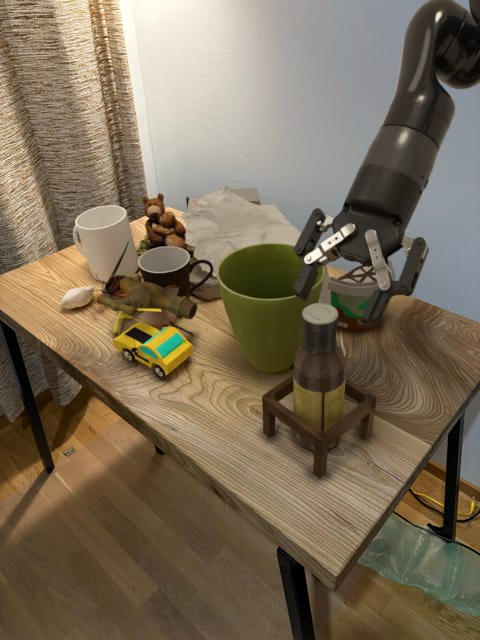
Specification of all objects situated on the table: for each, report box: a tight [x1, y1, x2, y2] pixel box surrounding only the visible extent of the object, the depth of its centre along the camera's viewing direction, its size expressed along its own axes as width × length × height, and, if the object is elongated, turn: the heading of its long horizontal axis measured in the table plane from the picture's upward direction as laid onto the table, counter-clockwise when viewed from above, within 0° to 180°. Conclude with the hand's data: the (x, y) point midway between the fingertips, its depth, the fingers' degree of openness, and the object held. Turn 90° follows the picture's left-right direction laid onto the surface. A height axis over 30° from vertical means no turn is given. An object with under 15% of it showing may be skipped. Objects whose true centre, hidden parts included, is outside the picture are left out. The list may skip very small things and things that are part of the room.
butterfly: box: [90, 241, 129, 313], centre depth 94 cm, size 12×10×10 cm
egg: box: [141, 309, 177, 331], centre depth 88 cm, size 5×5×7 cm
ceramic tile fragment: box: [190, 264, 222, 301], centre depth 99 cm, size 12×3×10 cm
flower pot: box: [216, 243, 325, 374], centre depth 78 cm, size 15×15×16 cm
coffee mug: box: [138, 246, 213, 319], centre depth 91 cm, size 12×9×10 cm
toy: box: [230, 187, 261, 205], centre depth 110 cm, size 10×8×15 cm
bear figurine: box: [136, 192, 198, 264], centre depth 105 cm, size 14×15×12 cm
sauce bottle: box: [292, 303, 347, 451], centre depth 64 cm, size 6×6×20 cm
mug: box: [72, 204, 139, 283], centre depth 102 cm, size 10×12×12 cm
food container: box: [327, 257, 396, 333], centre depth 86 cm, size 12×6×10 cm, turn 126°
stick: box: [169, 321, 195, 337], centre depth 86 cm, size 6×1×2 cm
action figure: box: [96, 273, 198, 321], centre depth 82 cm, size 15×4×15 cm
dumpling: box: [59, 285, 97, 310], centre depth 96 cm, size 7×5×4 cm
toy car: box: [112, 308, 195, 380], centre depth 81 cm, size 12×8×8 cm, turn 53°
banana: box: [111, 311, 129, 337], centre depth 91 cm, size 8×2×4 cm
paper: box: [179, 184, 302, 277], centre depth 100 cm, size 24×6×20 cm
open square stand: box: [261, 374, 378, 480], centre depth 68 cm, size 10×10×7 cm
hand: (332, 310), depth 60 cm, fingers open, 8 cm apart
